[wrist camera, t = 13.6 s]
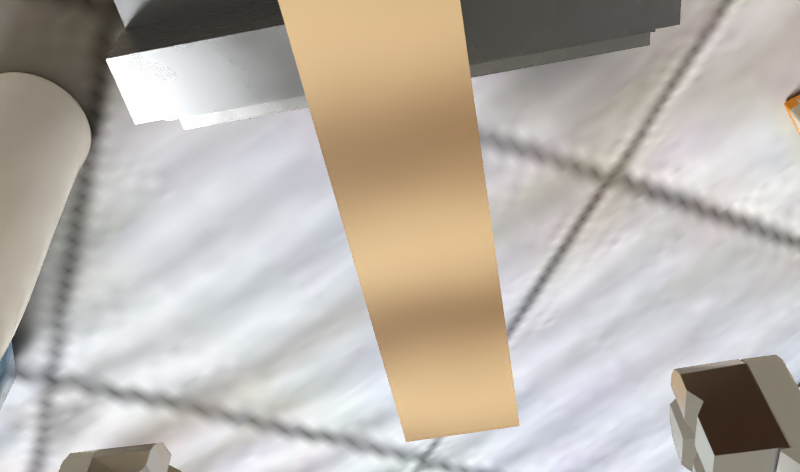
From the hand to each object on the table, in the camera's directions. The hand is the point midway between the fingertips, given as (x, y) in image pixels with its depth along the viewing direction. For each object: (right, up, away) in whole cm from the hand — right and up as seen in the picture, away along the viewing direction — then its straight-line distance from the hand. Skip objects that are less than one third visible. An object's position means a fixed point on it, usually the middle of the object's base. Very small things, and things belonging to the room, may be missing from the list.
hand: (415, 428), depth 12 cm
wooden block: (0, +9, +12) cm, 15 cm away
